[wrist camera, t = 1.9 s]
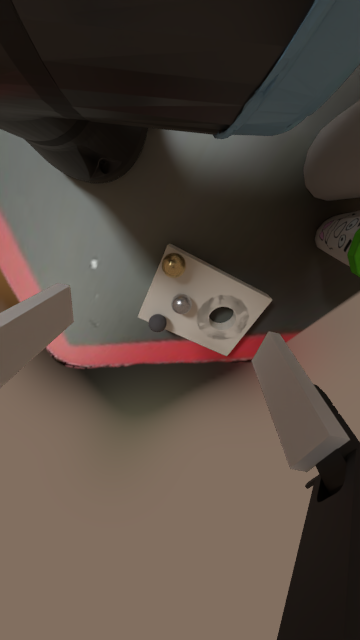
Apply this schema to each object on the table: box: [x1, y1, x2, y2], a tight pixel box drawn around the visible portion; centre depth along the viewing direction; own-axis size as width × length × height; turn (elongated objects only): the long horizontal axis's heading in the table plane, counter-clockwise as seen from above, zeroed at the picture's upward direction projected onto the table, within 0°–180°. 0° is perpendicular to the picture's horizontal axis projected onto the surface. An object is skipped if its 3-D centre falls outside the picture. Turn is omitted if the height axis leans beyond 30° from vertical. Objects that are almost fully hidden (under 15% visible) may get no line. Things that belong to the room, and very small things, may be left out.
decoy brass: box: [162, 253, 186, 278], centre depth 26 cm, size 3×3×3 cm
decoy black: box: [149, 314, 167, 332], centre depth 31 cm, size 3×3×3 cm
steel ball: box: [171, 294, 192, 314], centre depth 29 cm, size 3×3×3 cm
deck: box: [138, 243, 272, 356], centre depth 32 cm, size 18×13×2 cm
